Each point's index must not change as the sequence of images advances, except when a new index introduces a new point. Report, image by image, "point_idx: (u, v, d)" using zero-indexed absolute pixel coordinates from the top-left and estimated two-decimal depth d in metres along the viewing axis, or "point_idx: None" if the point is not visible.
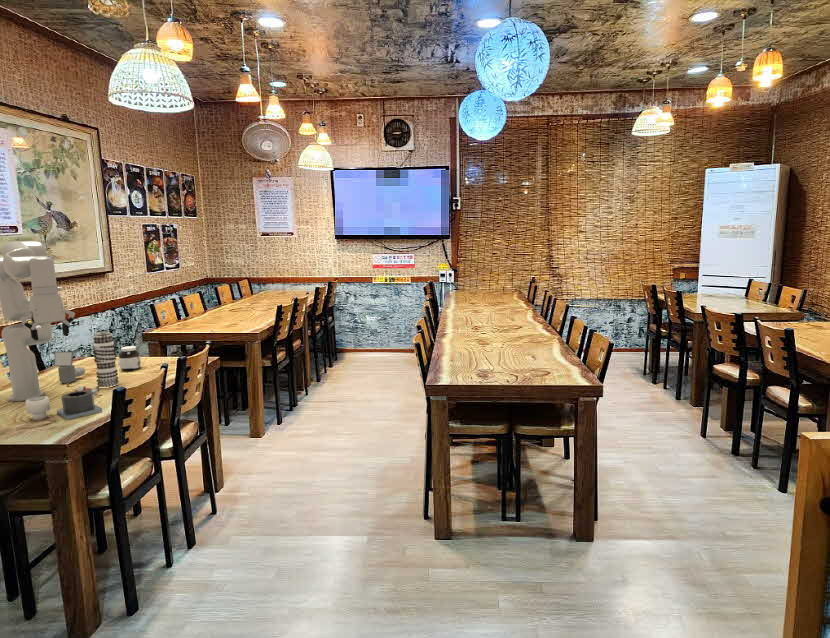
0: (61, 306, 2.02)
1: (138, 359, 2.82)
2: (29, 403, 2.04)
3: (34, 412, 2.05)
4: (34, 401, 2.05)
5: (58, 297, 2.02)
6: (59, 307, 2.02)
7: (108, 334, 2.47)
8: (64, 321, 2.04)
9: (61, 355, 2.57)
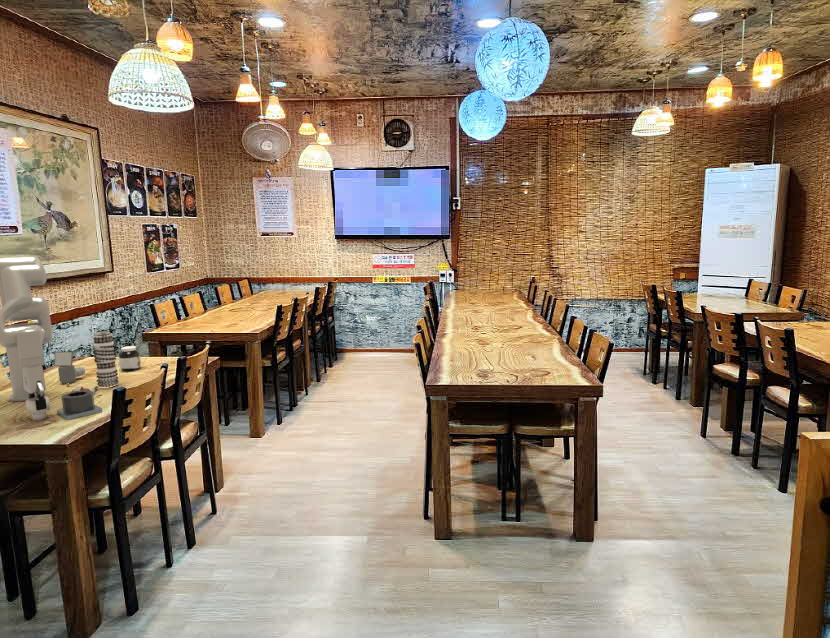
0: None
1: (138, 359, 2.82)
2: (29, 403, 2.05)
3: (34, 412, 2.05)
4: (34, 401, 2.05)
5: None
6: None
7: (108, 334, 2.47)
8: None
9: (61, 355, 2.57)
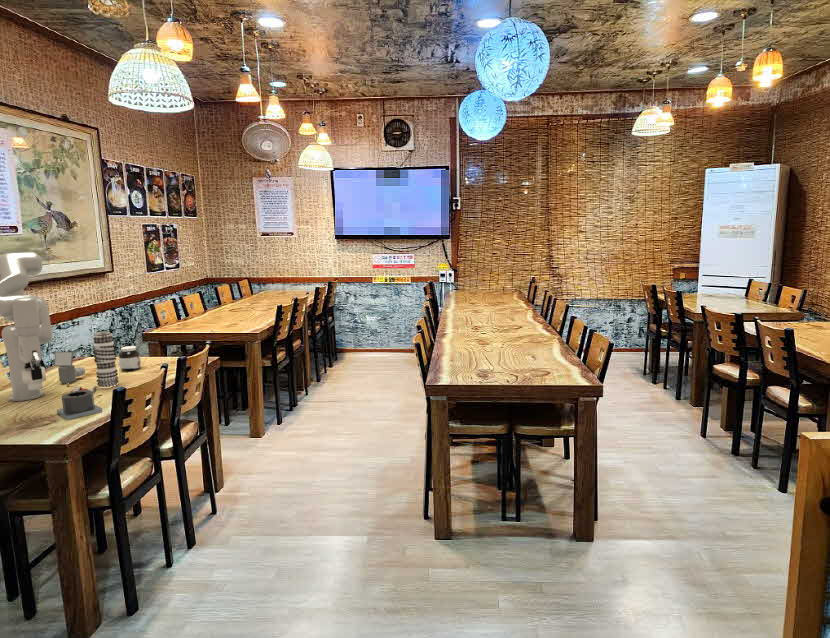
0: None
1: (138, 359, 2.82)
2: (25, 373, 2.03)
3: (30, 382, 2.04)
4: (30, 371, 2.04)
5: None
6: None
7: (108, 334, 2.47)
8: None
9: (61, 355, 2.57)
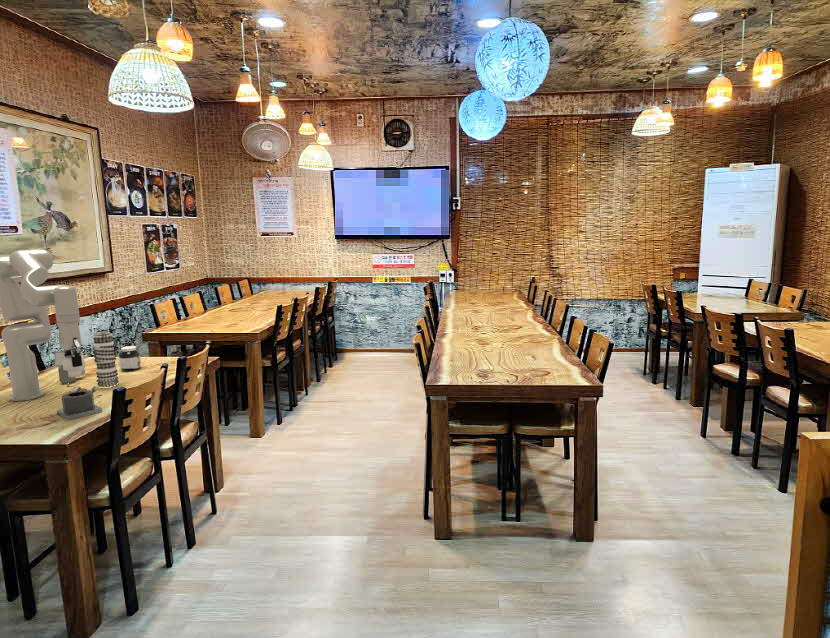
0: None
1: (138, 359, 2.82)
2: (65, 360, 2.08)
3: (70, 369, 2.08)
4: (70, 358, 2.08)
5: None
6: None
7: (108, 334, 2.47)
8: None
9: (61, 355, 2.57)
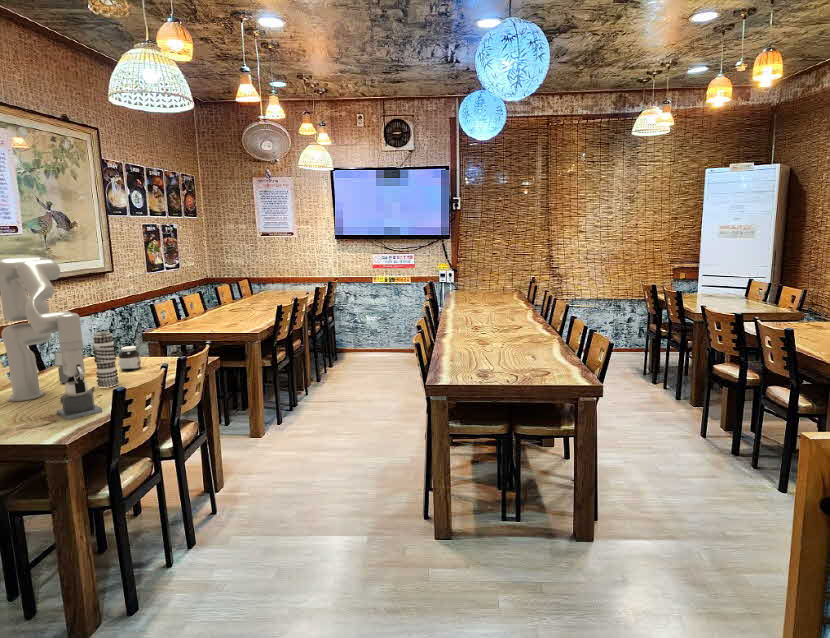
0: None
1: (138, 359, 2.82)
2: (69, 386, 2.09)
3: (73, 395, 2.10)
4: (73, 384, 2.10)
5: None
6: None
7: (108, 334, 2.47)
8: None
9: (61, 355, 2.57)
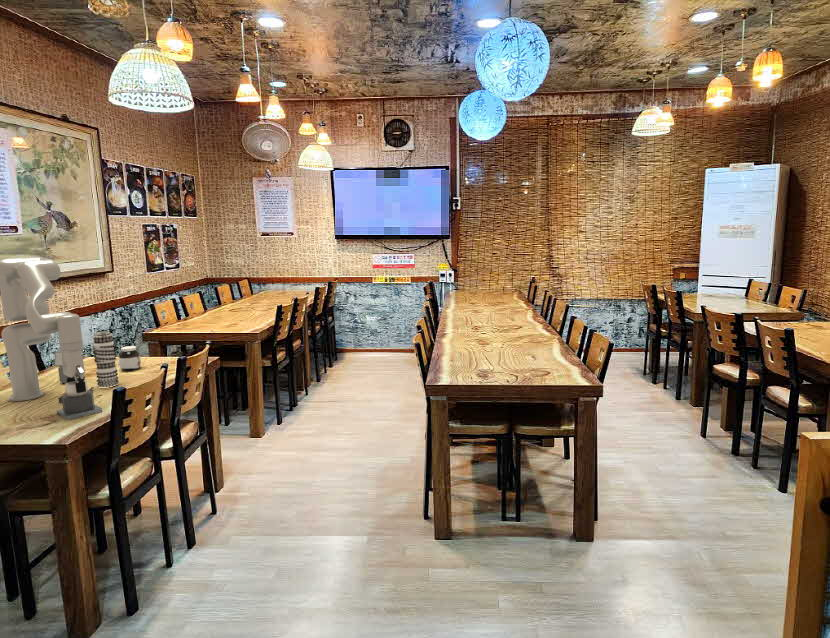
0: None
1: (138, 359, 2.82)
2: (69, 386, 2.09)
3: (73, 395, 2.10)
4: (73, 384, 2.10)
5: None
6: None
7: (108, 334, 2.47)
8: None
9: (61, 355, 2.57)
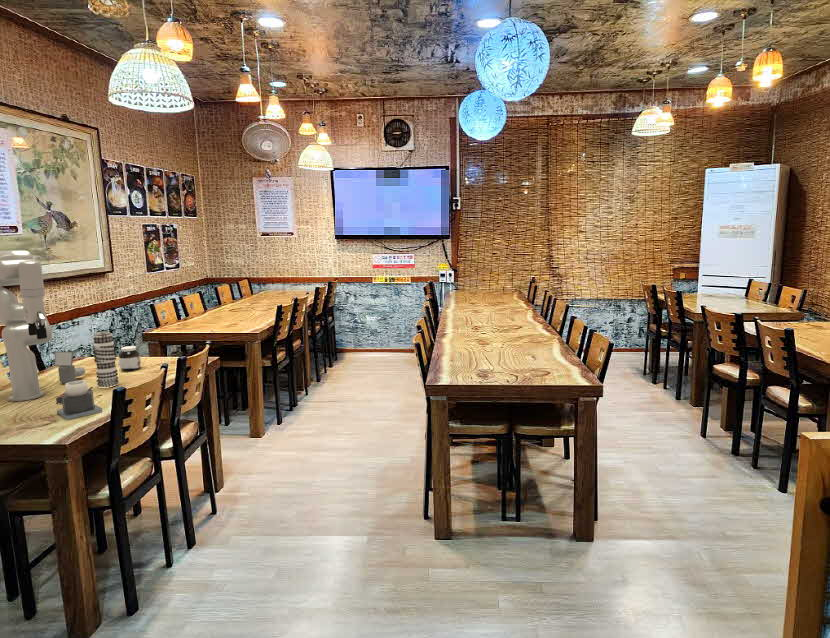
0: None
1: (138, 359, 2.82)
2: (69, 386, 2.09)
3: (73, 395, 2.10)
4: (73, 384, 2.10)
5: None
6: None
7: (108, 334, 2.47)
8: None
9: (61, 355, 2.57)
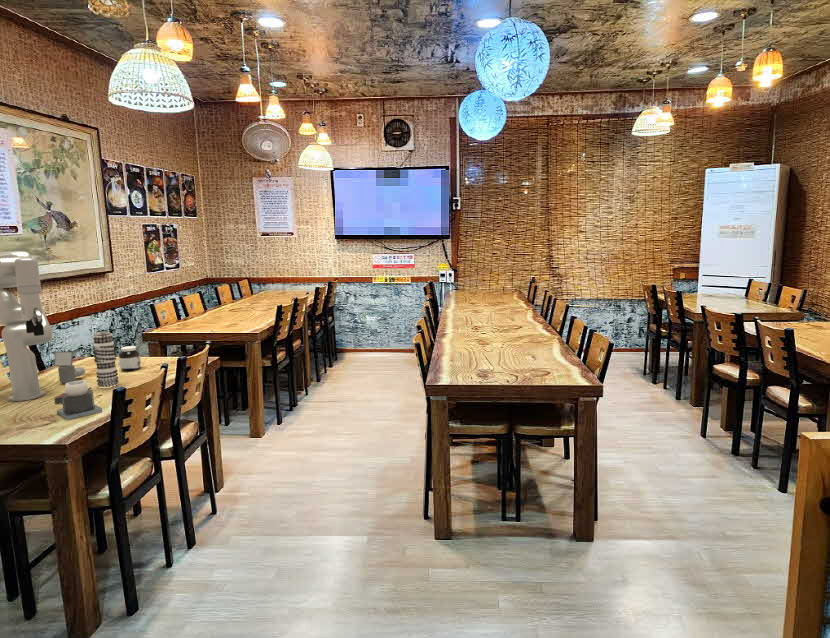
0: None
1: (138, 359, 2.82)
2: (69, 386, 2.09)
3: (73, 395, 2.10)
4: (73, 384, 2.10)
5: None
6: None
7: (108, 334, 2.47)
8: None
9: (61, 355, 2.57)
